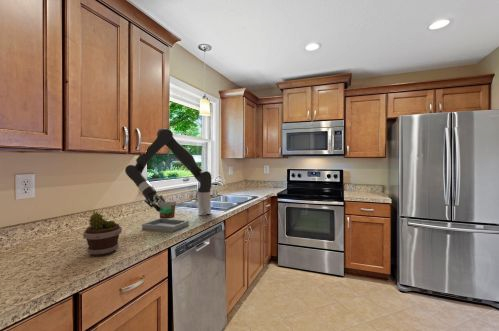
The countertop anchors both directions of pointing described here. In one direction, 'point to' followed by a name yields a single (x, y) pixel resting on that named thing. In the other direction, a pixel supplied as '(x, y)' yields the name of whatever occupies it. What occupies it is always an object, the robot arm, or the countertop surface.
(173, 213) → the food container
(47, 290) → the countertop surface
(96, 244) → the flowerpot
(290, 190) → the countertop surface
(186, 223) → the tray
